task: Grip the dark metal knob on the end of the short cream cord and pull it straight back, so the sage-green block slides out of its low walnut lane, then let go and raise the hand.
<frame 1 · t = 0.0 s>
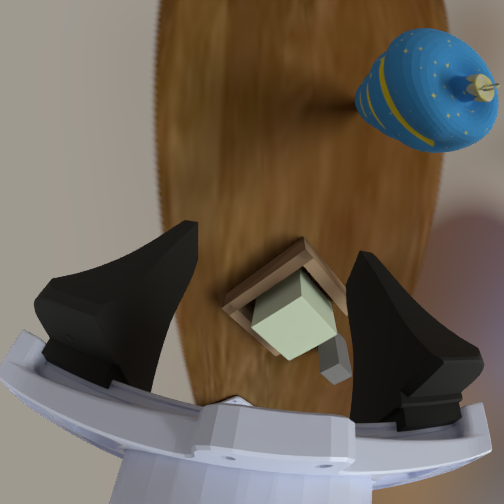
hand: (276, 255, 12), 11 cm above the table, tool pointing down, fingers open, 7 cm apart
ornament: (362, 104, 18), on the table
walnut lane: (294, 299, 26), on the table
sage block: (294, 299, 26), on the table
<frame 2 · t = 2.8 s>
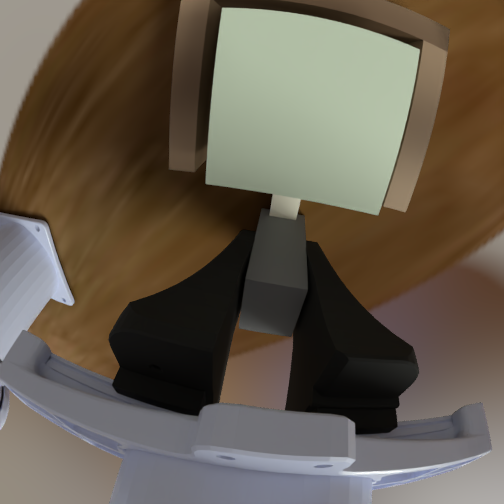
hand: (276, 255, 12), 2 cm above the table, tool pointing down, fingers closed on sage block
walnut lane: (303, 98, 10), on the table
sage block: (303, 98, 10), on the table, touching gripper
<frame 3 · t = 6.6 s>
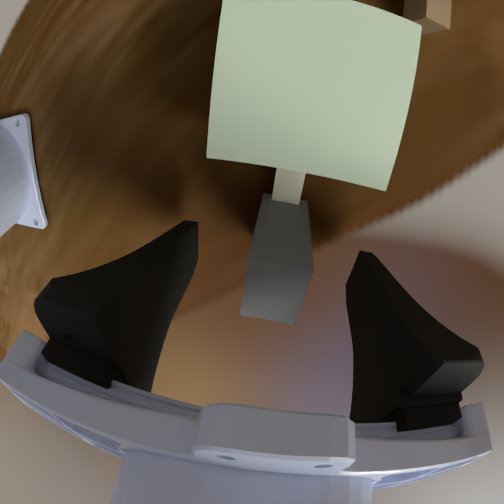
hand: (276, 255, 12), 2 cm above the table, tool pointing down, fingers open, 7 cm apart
sage block: (305, 81, 9), on the table
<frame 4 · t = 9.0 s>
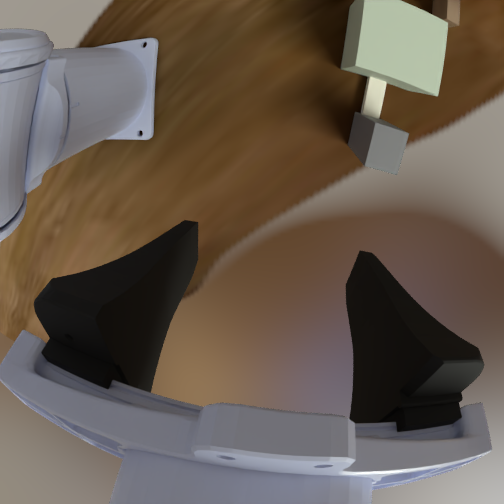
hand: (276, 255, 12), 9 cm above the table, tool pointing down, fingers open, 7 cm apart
sage block: (381, 47, 13), on the table
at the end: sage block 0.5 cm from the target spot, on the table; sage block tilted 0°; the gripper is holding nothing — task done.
